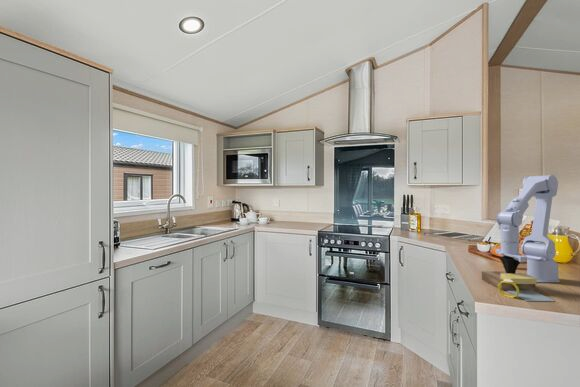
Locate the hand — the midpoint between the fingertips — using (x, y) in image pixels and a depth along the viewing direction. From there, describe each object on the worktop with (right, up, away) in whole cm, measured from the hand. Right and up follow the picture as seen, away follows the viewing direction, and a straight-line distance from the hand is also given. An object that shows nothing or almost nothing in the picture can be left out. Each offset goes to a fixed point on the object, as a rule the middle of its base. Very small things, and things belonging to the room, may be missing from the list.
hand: (510, 275), depth 110 cm
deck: (0, -4, +2) cm, 5 cm away
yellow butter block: (0, -1, -4) cm, 4 cm away
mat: (-1, -4, -10) cm, 11 cm away
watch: (-8, -5, -10) cm, 13 cm away
